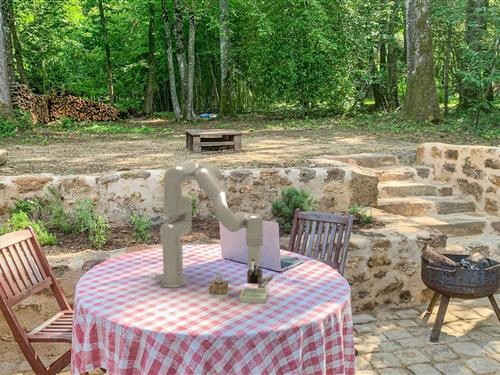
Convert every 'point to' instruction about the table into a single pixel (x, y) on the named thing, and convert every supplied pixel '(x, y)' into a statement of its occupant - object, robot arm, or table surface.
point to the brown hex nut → (218, 287)
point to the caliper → (265, 280)
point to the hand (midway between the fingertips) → (254, 280)
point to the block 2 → (259, 276)
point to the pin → (218, 279)
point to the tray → (254, 295)
